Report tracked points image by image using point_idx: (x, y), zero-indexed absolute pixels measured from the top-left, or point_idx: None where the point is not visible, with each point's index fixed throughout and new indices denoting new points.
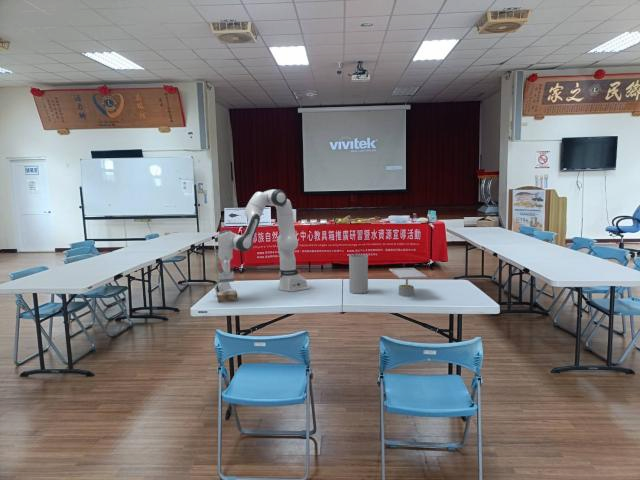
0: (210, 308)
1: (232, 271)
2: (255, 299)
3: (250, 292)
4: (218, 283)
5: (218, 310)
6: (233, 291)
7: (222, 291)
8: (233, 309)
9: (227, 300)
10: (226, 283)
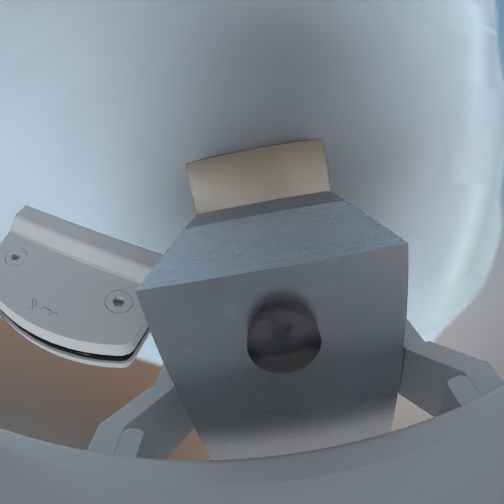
0: (440, 312)
1: (224, 295)
2: (286, 4)
3: (57, 77)
4: (65, 353)
5: (488, 262)
6: (234, 185)
7: (131, 293)
8: (497, 176)
9: None
10: (14, 284)
